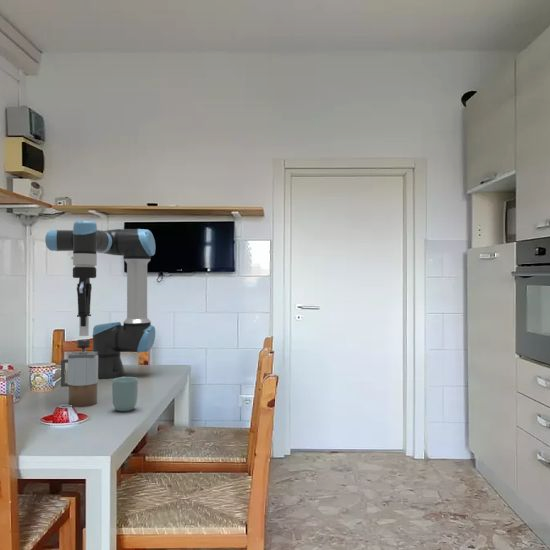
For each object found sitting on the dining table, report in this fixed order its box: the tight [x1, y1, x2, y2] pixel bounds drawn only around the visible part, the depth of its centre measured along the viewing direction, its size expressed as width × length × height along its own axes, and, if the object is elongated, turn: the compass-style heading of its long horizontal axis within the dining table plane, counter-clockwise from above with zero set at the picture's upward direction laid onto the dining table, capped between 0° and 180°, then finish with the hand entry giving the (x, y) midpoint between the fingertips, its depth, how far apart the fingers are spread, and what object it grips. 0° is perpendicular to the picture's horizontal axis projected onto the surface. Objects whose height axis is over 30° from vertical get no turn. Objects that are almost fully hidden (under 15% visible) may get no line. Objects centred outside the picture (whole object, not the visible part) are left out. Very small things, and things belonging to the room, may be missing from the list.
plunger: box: [76, 338, 91, 354], centre depth 168 cm, size 7×7×14 cm
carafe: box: [60, 351, 99, 408], centre depth 168 cm, size 9×12×17 cm
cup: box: [111, 376, 139, 412], centre depth 160 cm, size 8×8×10 cm
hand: (84, 335), depth 169 cm, fingers closed
